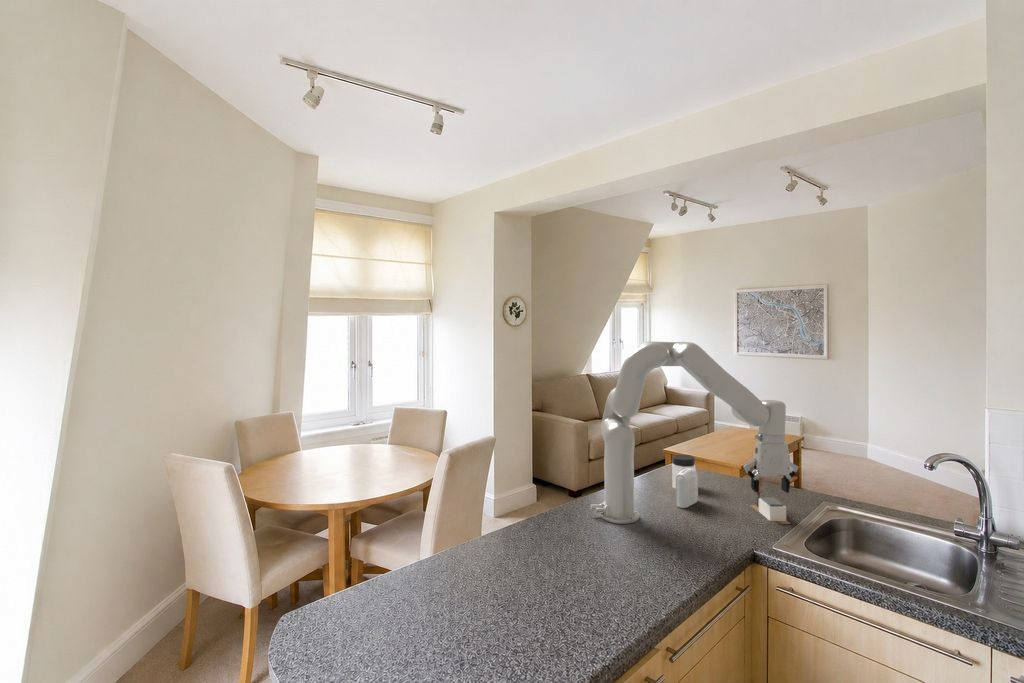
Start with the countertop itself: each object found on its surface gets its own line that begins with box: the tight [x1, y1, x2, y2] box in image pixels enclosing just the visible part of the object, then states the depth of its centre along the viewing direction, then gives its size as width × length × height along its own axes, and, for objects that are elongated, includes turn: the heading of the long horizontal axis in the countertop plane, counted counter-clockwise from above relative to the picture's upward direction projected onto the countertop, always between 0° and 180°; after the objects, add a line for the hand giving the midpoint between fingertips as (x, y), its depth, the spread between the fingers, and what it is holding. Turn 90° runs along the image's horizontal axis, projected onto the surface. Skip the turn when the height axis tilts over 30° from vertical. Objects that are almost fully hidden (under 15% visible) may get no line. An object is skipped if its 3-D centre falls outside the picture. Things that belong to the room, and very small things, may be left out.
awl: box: [754, 476, 764, 506], centre depth 166 cm, size 3×3×10 cm
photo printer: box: [675, 468, 699, 509], centre depth 170 cm, size 10×4×12 cm, turn 134°
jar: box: [671, 453, 696, 490], centre depth 187 cm, size 9×8×12 cm
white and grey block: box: [758, 496, 787, 522], centre depth 157 cm, size 5×8×5 cm, turn 176°
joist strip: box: [749, 504, 792, 525], centre depth 159 cm, size 5×16×1 cm, turn 0°
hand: (770, 491), depth 157 cm, fingers open, 9 cm apart
